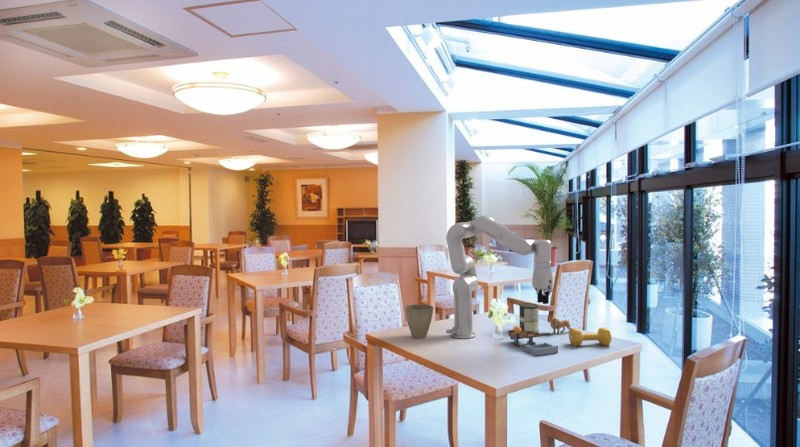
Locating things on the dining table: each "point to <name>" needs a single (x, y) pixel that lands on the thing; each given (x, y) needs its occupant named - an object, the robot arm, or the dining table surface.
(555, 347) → the tray
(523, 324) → the coffee can
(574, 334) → the dumbbell
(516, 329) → the ball
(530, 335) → the brown tilting tray
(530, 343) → the lever stand
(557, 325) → the lion figurine
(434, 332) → the dining table surface
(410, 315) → the plant pot
